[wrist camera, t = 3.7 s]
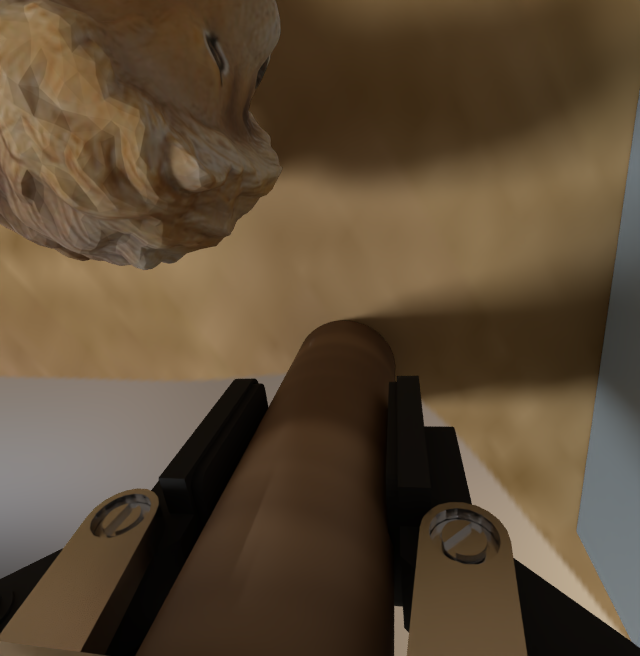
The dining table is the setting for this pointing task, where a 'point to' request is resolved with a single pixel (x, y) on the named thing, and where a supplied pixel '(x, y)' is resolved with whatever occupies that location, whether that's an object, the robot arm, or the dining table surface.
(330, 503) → the peg
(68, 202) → the lion figurine
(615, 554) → the socket block
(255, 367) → the dining table surface
